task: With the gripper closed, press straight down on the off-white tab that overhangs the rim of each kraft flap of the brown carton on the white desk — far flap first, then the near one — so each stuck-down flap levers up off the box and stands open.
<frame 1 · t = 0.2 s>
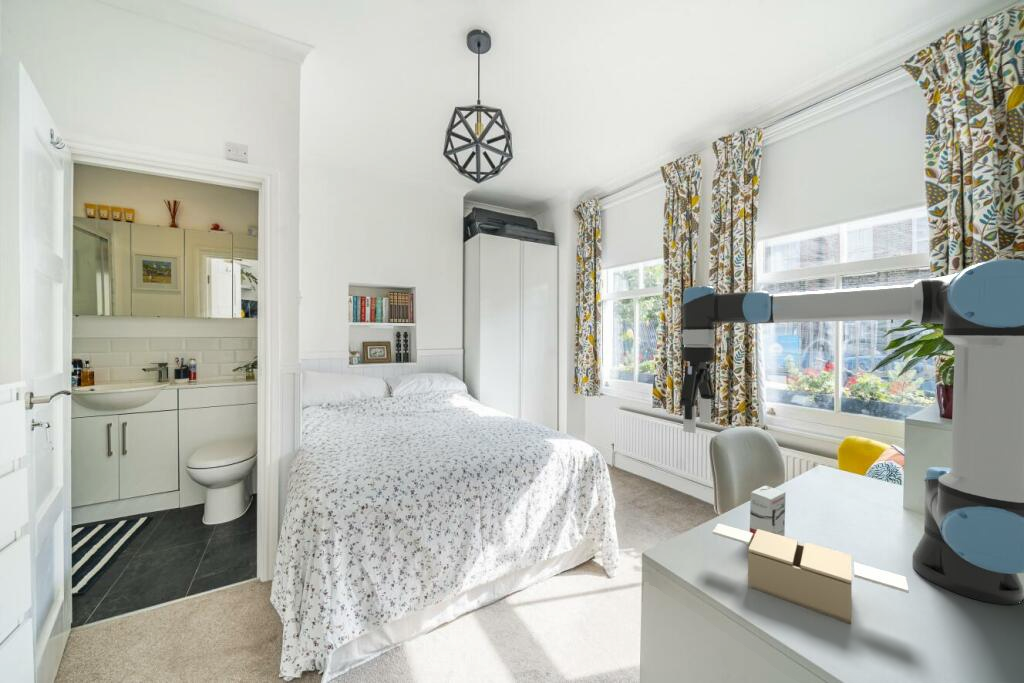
hand: (697, 427, 102), 27 cm above the table, fingers open, 13 cm apart
carton: (798, 589, 79), on the table
near flap: (851, 568, 74), point 8 cm above the table, hinge at 0.0°
far flap: (753, 539, 84), point 8 cm above the table, hinge at 0.0°
ink box: (767, 538, 99), on the table
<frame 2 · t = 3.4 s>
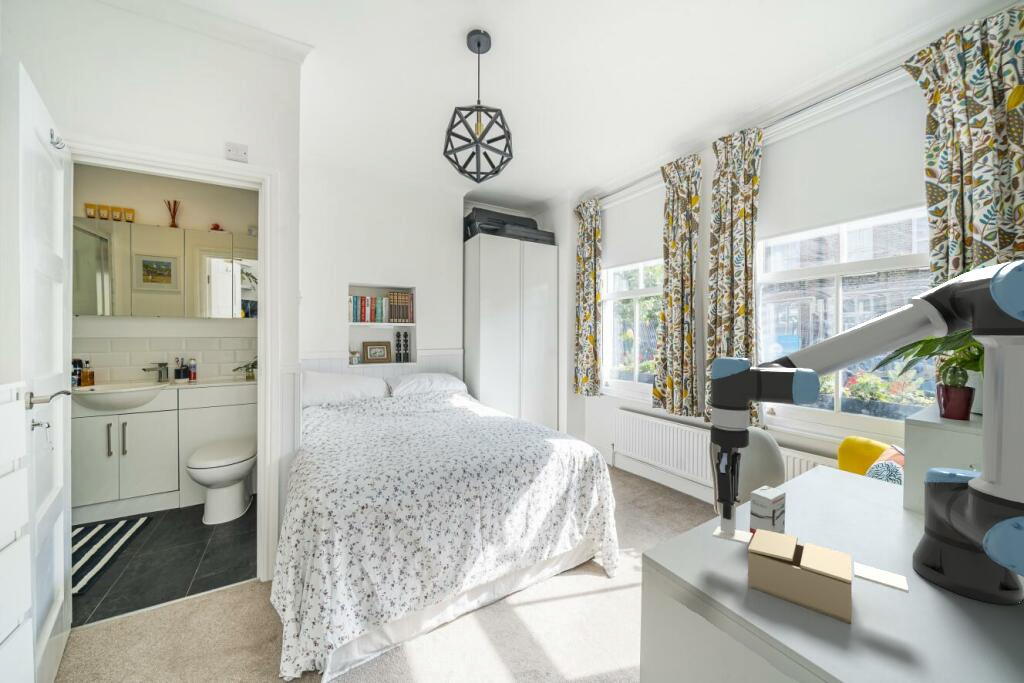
hand: (728, 531, 87), 8 cm above the table, fingers closed
far flap: (753, 539, 84), point 8 cm above the table, hinge at 5.3°, touching gripper
everything else where it was.
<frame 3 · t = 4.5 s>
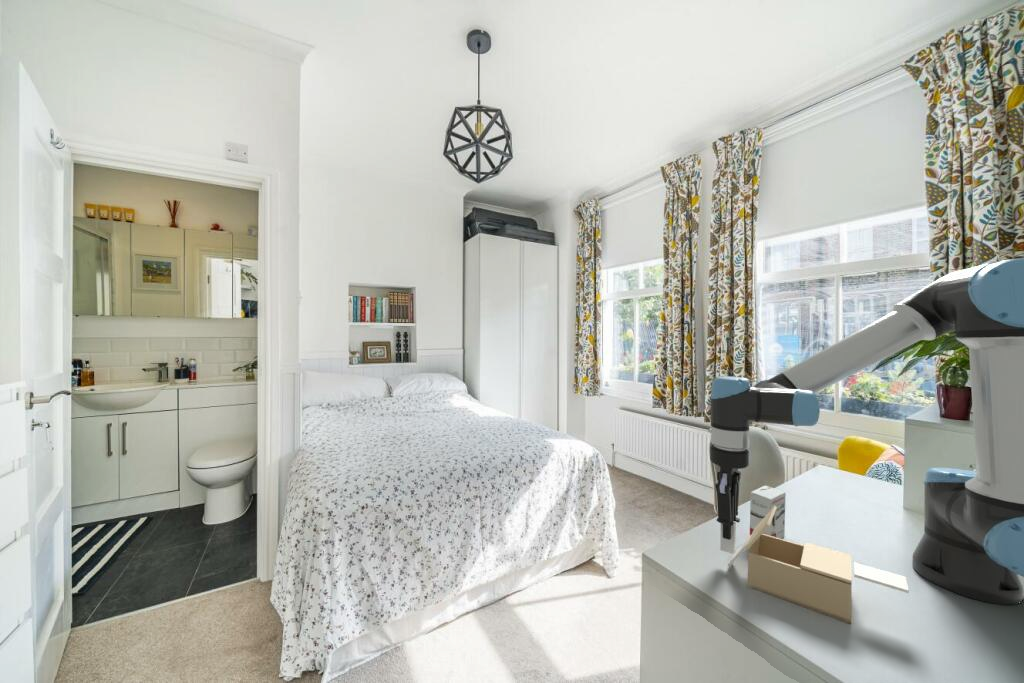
hand: (727, 550, 87), 3 cm above the table, fingers closed
far flap: (751, 538, 84), point 8 cm above the table, hinge at 59.1°, touching gripper
everything else where it was.
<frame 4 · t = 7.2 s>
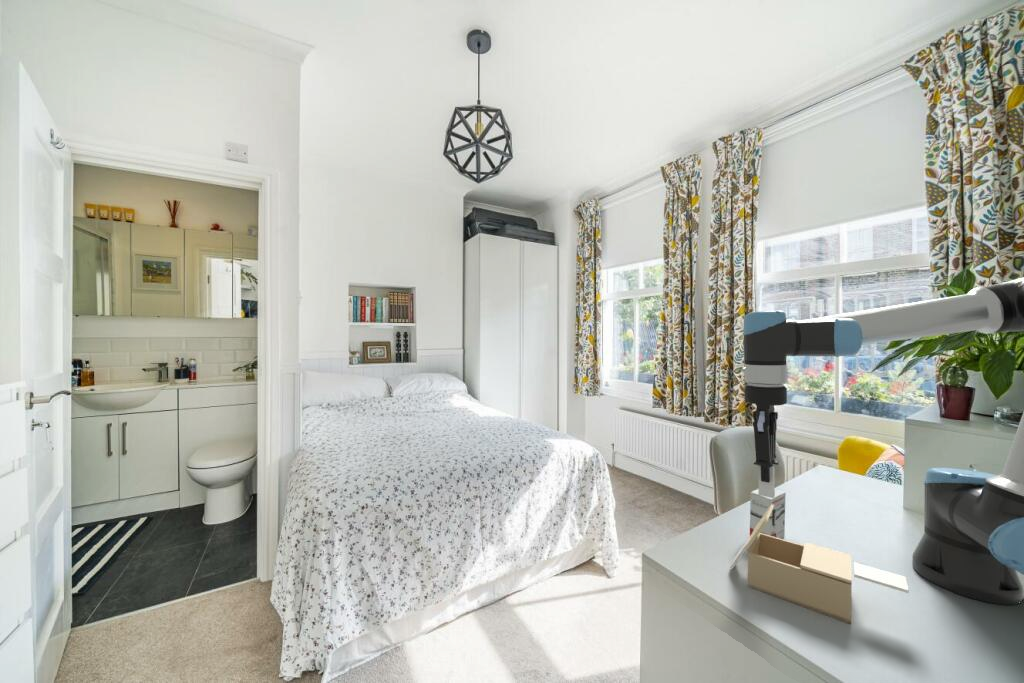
hand: (766, 495, 82), 18 cm above the table, fingers closed
far flap: (750, 538, 84), point 8 cm above the table, hinge at 63.6°
everything else where it was.
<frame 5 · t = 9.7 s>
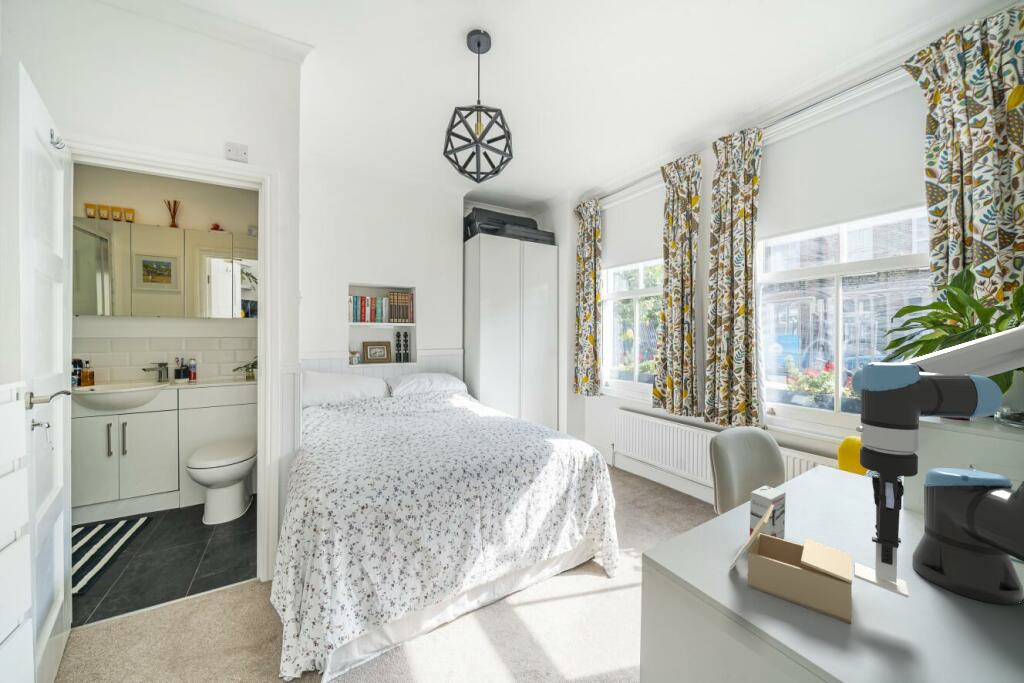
hand: (885, 577, 70), 8 cm above the table, fingers closed
near flap: (851, 568, 74), point 8 cm above the table, hinge at 6.9°, touching gripper
everything else where it was.
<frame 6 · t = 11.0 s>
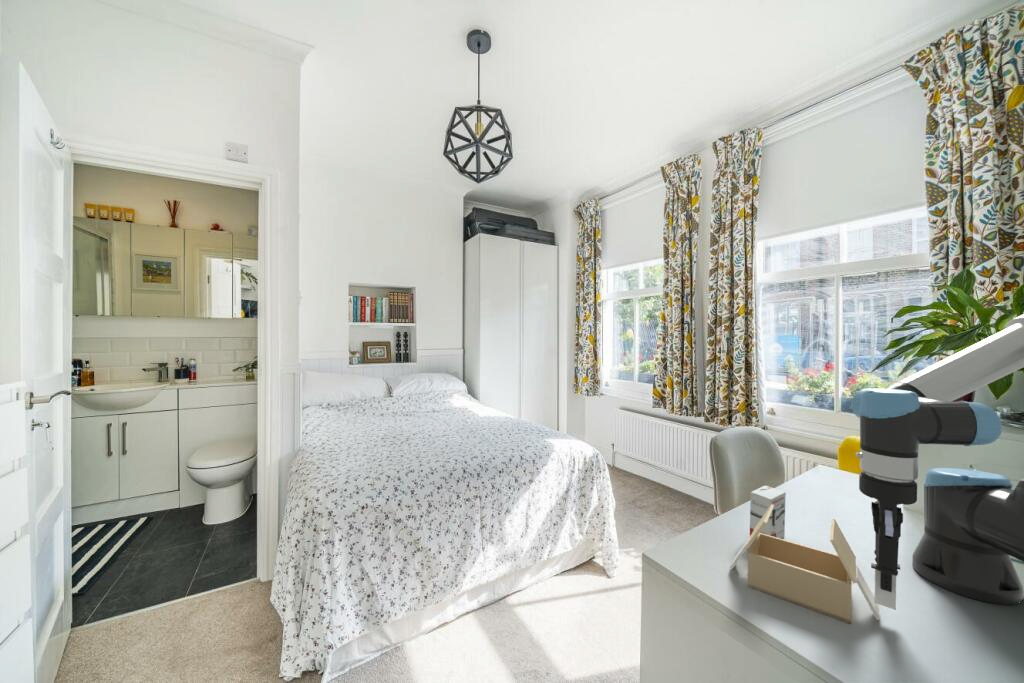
hand: (884, 604, 71), 3 cm above the table, fingers closed
near flap: (854, 569, 73), point 8 cm above the table, hinge at 63.8°, touching gripper
everything else where it was.
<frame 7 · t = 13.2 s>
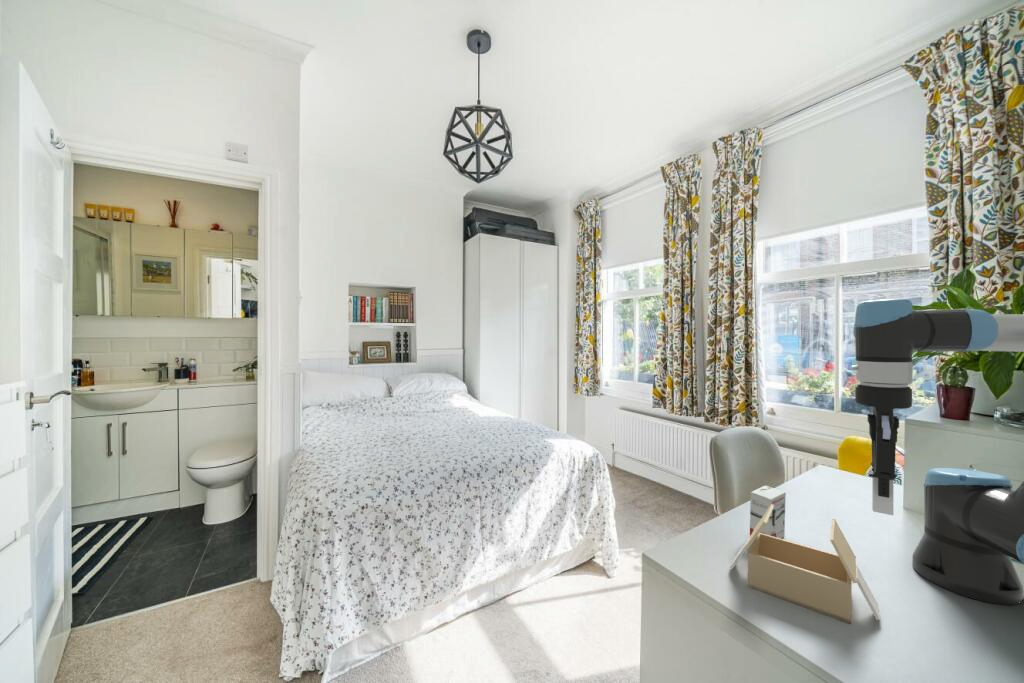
hand: (882, 511, 72), 19 cm above the table, fingers closed
near flap: (854, 569, 73), point 8 cm above the table, hinge at 63.9°
everything else where it was.
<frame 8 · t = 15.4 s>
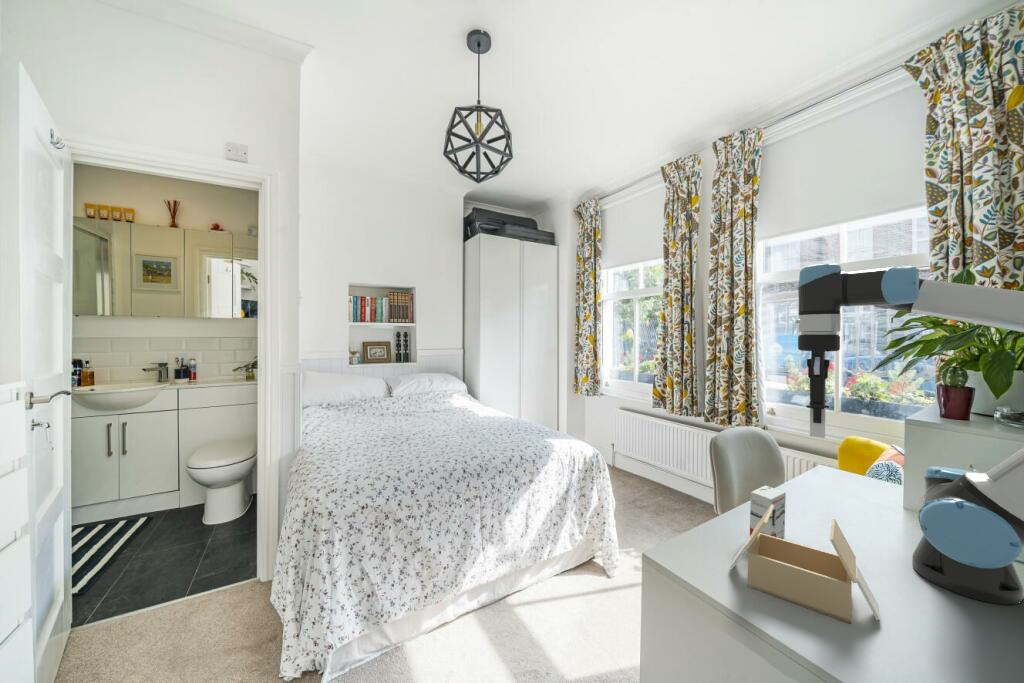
hand: (817, 436, 89), 28 cm above the table, fingers closed
nothing on the table moved.
at the end: far flap at +64° (first picture: +0°); near flap at +64° (first picture: +0°) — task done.
